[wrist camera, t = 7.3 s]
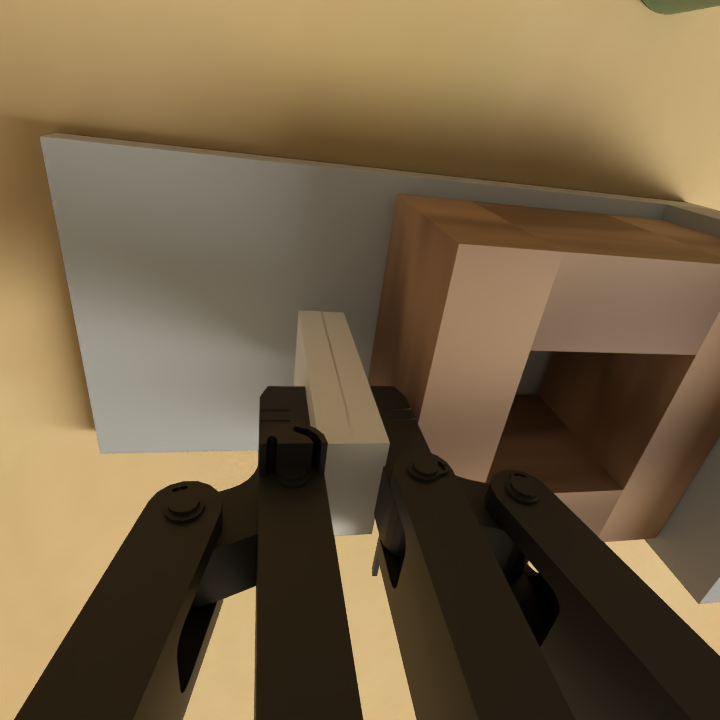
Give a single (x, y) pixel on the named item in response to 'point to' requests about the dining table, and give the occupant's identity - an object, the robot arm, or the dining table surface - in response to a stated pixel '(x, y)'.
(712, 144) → the dining table surface
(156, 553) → the robot arm
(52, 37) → the dining table surface
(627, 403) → the walnut block
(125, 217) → the grey l-shaped bracket
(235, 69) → the dining table surface
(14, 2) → the dining table surface
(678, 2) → the teal dowel
